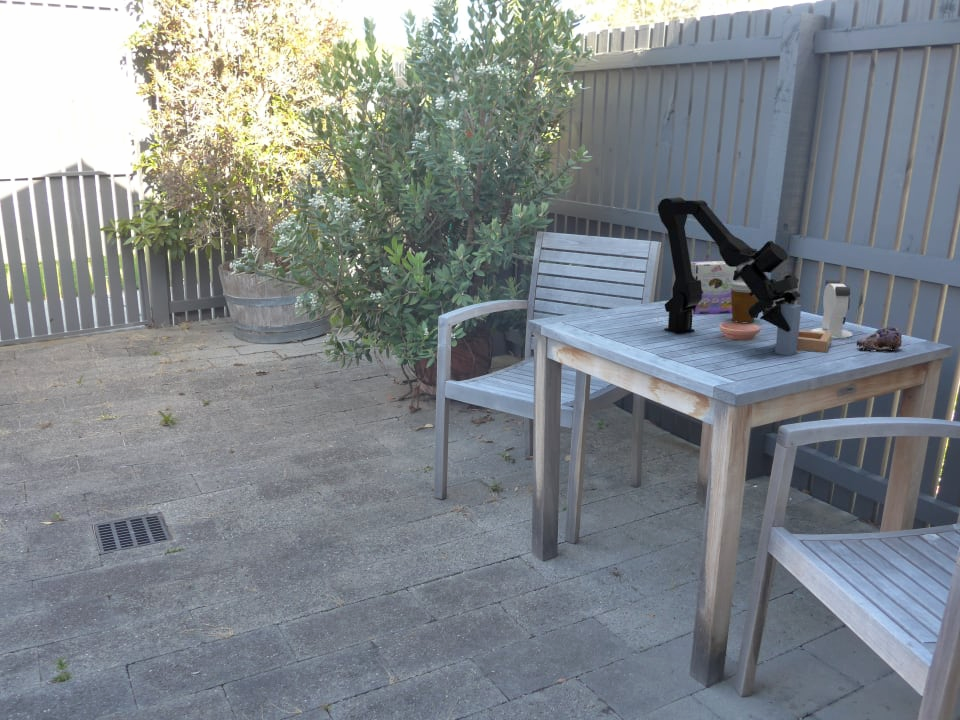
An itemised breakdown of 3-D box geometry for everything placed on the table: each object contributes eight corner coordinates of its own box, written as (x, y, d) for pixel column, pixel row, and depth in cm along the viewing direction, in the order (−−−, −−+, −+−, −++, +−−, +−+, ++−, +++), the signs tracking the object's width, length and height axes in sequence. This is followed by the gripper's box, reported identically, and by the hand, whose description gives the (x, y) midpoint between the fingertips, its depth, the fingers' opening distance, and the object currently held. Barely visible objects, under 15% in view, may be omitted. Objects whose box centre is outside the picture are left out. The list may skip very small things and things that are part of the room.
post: (775, 352, 226) (779, 305, 222) (782, 349, 228) (787, 303, 225) (789, 355, 223) (794, 307, 219) (796, 352, 226) (801, 305, 222)
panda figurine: (858, 339, 239) (864, 287, 235) (817, 338, 240) (823, 287, 236) (845, 329, 251) (850, 280, 247) (806, 328, 252) (811, 279, 248)
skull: (860, 353, 226) (863, 331, 224) (848, 345, 233) (851, 324, 231) (905, 353, 225) (908, 330, 224) (892, 345, 233) (895, 324, 231)
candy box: (728, 309, 278) (732, 260, 274) (734, 313, 273) (738, 263, 268) (687, 310, 277) (690, 260, 273) (693, 314, 272) (696, 263, 267)
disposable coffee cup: (762, 324, 257) (766, 286, 254) (731, 324, 257) (734, 286, 254) (753, 317, 266) (756, 280, 263) (723, 317, 267) (726, 280, 263)
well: (784, 347, 231) (786, 337, 230) (791, 339, 239) (792, 329, 239) (825, 352, 226) (826, 341, 225) (830, 343, 234) (832, 333, 234)
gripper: (762, 269, 216) (798, 317, 211) (797, 261, 228) (832, 306, 223) (732, 294, 224) (767, 342, 219) (767, 285, 236) (801, 330, 231)
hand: (793, 329), depth 223 cm, fingers closed on post, 4 cm apart
